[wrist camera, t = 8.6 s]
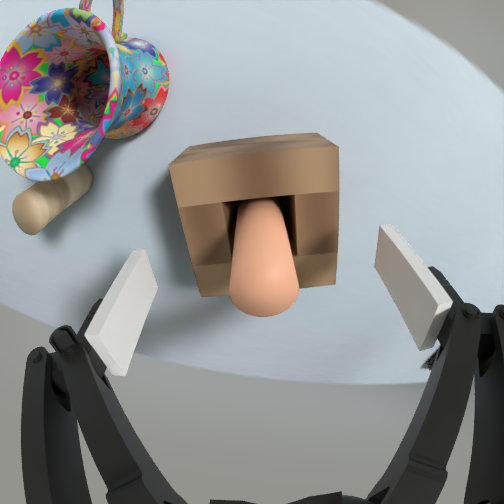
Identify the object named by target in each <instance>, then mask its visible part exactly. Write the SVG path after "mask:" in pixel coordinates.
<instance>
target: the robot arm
mask: <svg viewBox="0 0 504 504" xmlns="http://www.w3.org/2000/svg"><path fill="white" fill-rule="evenodd" d="M374 267H375V268H376V270H377V272H378V274H379V275H380V277H381V279H382V281H383V282H384V284H385V286H386V288H387V289H388V291H389V293H390V295H391V297H392V298H393V300H394V302H395V304H396V306H397V308H398V309H399V311H400V313H401V315H402V317H403V319H404V321H405V323H406V325H407V327H408V329H409V331H410V333H411V335H412V337H413V339H414V341H415V343H416V345H417V347H418V349H419V351H421V350H425V349H428V348H432V347H433V346H434V344H435V342H436V340H437V338H438V340H439V342H440V344H441V345H440V347H439V349H438V351H437V353H436V355H435V356H434V358H433V360H435V361H434V364H433V367H432V370H431V373H430V376H429V379H428V382H427V385H426V388H425V390H424V393H423V395H422V398H421V400H420V403H419V405H418V407H417V410H416V412H415V414H414V417H413V419H412V422H411V424H410V426H409V428H408V430H407V432H406V434H405V436H404V438H403V440H402V442H401V444H400V446H399V448H398V450H397V452H396V454H395V456H394V457H393V459H392V461H391V463H390V465H389V466H388V468H387V470H386V471H385V473H384V475H383V476H382V478H381V479H380V480H379V481H378V483H377V484H376V485H375V487H374V488H373V489H372V491H371V492H370V493H369V495H368V497H367V498H366V499H362V498H358V497H354V496H347V495H342V492H335V493H330V494H324V495H317V496H311V497H307V498H304V499H301V500H298V501H295V502H292V503H288V504H435V503H436V501H437V499H438V497H439V495H440V493H441V491H442V489H443V486H444V484H445V481H446V479H447V474H448V472H447V471H446V465H447V462H448V460H449V457H450V455H451V452H452V449H453V447H454V444H455V441H456V438H457V436H458V433H459V429H460V426H461V423H462V420H463V417H464V413H465V409H466V406H467V402H468V398H469V394H470V390H471V385H472V381H473V376H474V375H475V419H474V435H473V446H472V455H471V462H470V469H469V475H468V481H467V487H466V492H465V498H464V504H504V305H497V306H496V307H495V309H494V311H493V313H481V312H480V310H479V309H478V308H477V307H476V306H475V305H473V304H470V303H464V302H463V301H462V299H461V298H460V296H459V295H458V294H457V292H456V291H455V290H454V288H453V287H452V286H451V285H450V283H449V282H448V281H447V280H446V278H445V277H444V276H443V274H442V273H441V272H440V271H439V270H437V269H436V268H434V267H433V266H432V267H427V266H426V265H425V264H424V262H423V261H422V260H421V259H420V257H419V256H418V255H417V254H416V252H415V251H414V250H413V249H412V248H411V246H410V245H409V244H408V243H407V242H406V241H405V239H404V238H403V237H402V236H401V235H400V234H399V232H398V231H397V230H396V229H395V228H394V227H393V226H392V224H389V225H379V235H378V243H377V251H376V259H375V266H374ZM157 289H158V285H157V283H156V280H155V277H154V274H153V272H152V269H151V266H150V263H149V260H148V257H147V254H146V251H145V249H138V250H133V251H132V252H131V254H130V256H129V257H128V259H127V260H126V262H125V264H124V265H123V267H122V269H121V270H120V272H119V273H118V275H117V277H116V278H115V280H114V282H113V284H112V285H111V287H110V289H109V290H108V292H107V294H106V296H105V297H104V299H99V300H98V301H97V302H96V303H95V304H94V305H93V307H92V308H91V310H90V312H89V314H88V315H87V317H86V320H85V321H84V323H83V325H82V326H81V328H80V330H79V332H78V334H77V335H76V333H75V332H74V330H73V329H72V327H71V326H68V325H64V326H61V327H59V328H57V329H56V330H55V331H54V332H53V333H52V334H51V336H50V339H49V343H50V344H51V345H52V347H53V348H54V349H55V351H56V352H54V353H48V352H47V350H46V349H45V348H44V347H37V348H35V349H33V350H32V351H31V352H30V354H29V355H28V358H27V362H26V369H25V378H24V387H23V398H22V414H21V455H22V471H23V481H24V490H25V497H26V503H27V504H92V502H91V498H90V494H89V490H88V485H87V481H86V476H85V471H84V466H83V460H82V455H81V449H80V441H79V434H78V425H77V420H78V423H79V425H80V428H81V431H82V433H83V436H84V438H85V441H86V443H87V445H88V448H89V450H90V452H91V455H92V457H93V459H94V462H95V464H96V466H97V468H98V470H99V472H100V474H101V476H102V478H103V480H104V482H105V484H106V486H107V488H108V492H107V494H106V499H107V501H108V504H187V503H186V501H185V500H183V498H182V497H181V496H179V495H178V494H177V493H176V492H175V491H174V490H173V488H172V487H171V486H170V484H169V483H168V482H167V480H166V479H165V478H164V476H163V475H162V473H161V472H160V471H159V469H158V467H157V466H156V465H155V463H154V462H153V460H152V459H151V457H150V455H149V454H148V452H147V451H146V449H145V448H144V446H143V444H142V443H141V441H140V439H139V438H138V436H137V434H136V433H135V431H134V429H133V427H132V426H131V424H130V422H129V420H128V418H127V416H126V415H125V413H124V411H123V409H122V407H121V405H120V403H119V401H118V399H117V397H116V395H115V393H114V391H113V389H112V387H111V385H110V383H109V380H108V378H107V377H106V376H105V374H104V373H105V370H106V368H107V369H108V370H109V371H110V373H111V374H112V375H118V376H126V374H127V371H128V367H129V365H130V362H131V359H132V356H133V353H134V350H135V347H136V345H137V342H138V339H139V336H140V333H141V331H142V328H143V325H144V323H145V320H146V317H147V315H148V312H149V309H150V307H151V304H152V302H153V299H154V297H155V294H156V292H157ZM210 504H255V503H250V502H245V501H232V500H230V501H229V500H210Z"/></svg>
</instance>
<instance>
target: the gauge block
mask: <svg viewBox="0 0 504 504" xmlns="http://www.w3.org/2000/svg"><path fill="white" fill-rule="evenodd" d="M169 170H170V174H171V179H172V184H173V188H174V193H175V197H176V202H177V206H178V210H179V214H180V219H181V223H182V227H183V231H184V235H185V239H186V243H187V247H188V251H189V254H190V258H191V262H192V266H193V269H194V273H195V277H196V280H197V284H198V287H199V291H200V295H201V297H210V296H223V295H230V293H229V287H230V277H231V267H232V257H233V247H234V238H235V229H236V218H235V211H234V205H233V201H235V200H244V199H254V198H263V197H274V196H284V195H286V201H287V216H288V219H284V223H285V227H286V231H287V235H288V240H289V244H290V248H291V253H292V257H293V262H294V266H295V271H296V275H297V280H298V284H299V288H308V287H317V286H326V285H335V284H336V270H337V253H338V230H339V147H338V146H336V145H335V144H333V143H332V142H330V141H329V140H327V139H326V138H324V137H322V136H321V135H319V134H318V133H304V134H288V135H275V136H264V137H254V138H245V139H237V140H229V141H222V142H215V143H208V144H202V145H196V146H190V147H188V148H187V149H186V150H185V151H184V152H182V153H181V154H180V155H179V156H178V157H177V158H176V159H175V160H174V161H173V162H171V163H170V164H169Z"/></svg>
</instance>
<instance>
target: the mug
mask: <svg viewBox="0 0 504 504" xmlns="http://www.w3.org/2000/svg"><path fill="white" fill-rule="evenodd" d="M91 3H92V0H81V1H80V5H79V9H75V8H65V9H59V10H55V11H52V12H49V13H46V14H44V15H42V16H40V17H39V18H37V19H36V20H34V21H33V22H31V23H30V24H29V25H27V26H26V27H25V28H24V29H23V30H22V31H21V32H20V33H19V34H18V35H17V36H16V37H15V39H14V40H13V41H12V42H11V44H10V45H9V47H8V48H7V50H6V52H5V53H4V55H3V57H2V59H1V61H0V154H1V156H2V158H3V159H4V160H5V162H6V163H7V164H8V165H9V166H10V167H11V168H12V169H13V170H14V171H15V172H16V173H18V174H19V175H21V176H23V177H25V178H27V179H30V180H34V181H54V180H57V179H60V178H63V177H65V176H67V175H69V174H71V173H72V172H74V171H75V170H77V169H78V168H79V167H81V166H82V165H83V164H84V163H85V162H86V161H87V160H88V159H89V158H90V157H91V155H92V154H93V153H94V152H95V150H96V149H97V147H98V146H99V144H100V143H101V141H102V139H103V138H108V139H121V138H126V137H129V136H132V135H134V134H137V133H138V132H140V131H142V130H143V129H145V128H146V127H147V126H148V125H149V124H150V123H151V122H152V121H153V120H154V119H155V118H156V116H157V115H158V114H159V112H160V110H161V109H162V107H163V105H164V103H165V100H166V97H167V94H168V88H169V73H168V68H167V65H166V62H165V60H164V58H163V56H162V55H161V53H160V52H159V51H158V50H157V49H156V48H155V47H154V46H153V45H151V44H150V43H148V42H146V41H144V40H141V39H137V38H127V34H126V33H121V32H122V25H123V15H124V2H123V0H113V26H112V34H111V32H110V31H109V29H108V28H107V26H106V25H105V24H104V23H103V22H102V21H101V20H100V19H99V18H98V17H97V16H95V15H94V14H92V13H90V8H91Z"/></svg>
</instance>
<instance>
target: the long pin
mask: <svg viewBox="0 0 504 504" xmlns="http://www.w3.org/2000/svg"><path fill="white" fill-rule="evenodd" d="M229 293H230V298H231V300H232V302H233V303H234V305H235V306H236V307H237V308H238V309H240V310H241V311H243V312H244V313H247V314H249V315H253V316H258V317H268V316H274V315H277V314H280V313H282V312H284V311H286V310H287V309H288V308H290V307H291V306H292V305H293V303H294V302H295V301H296V299H297V297H298V293H299V284H298V280H297V275H296V271H295V266H294V262H293V257H292V253H291V248H290V244H289V240H288V235H287V231H286V227H285V223H284V218H283V214H282V210H281V206H280V202H279V198H278V196H274V197H263V198H254V199H244V200H239V201H238V210H237V219H236V229H235V238H234V247H233V257H232V267H231V277H230V287H229Z"/></svg>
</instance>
